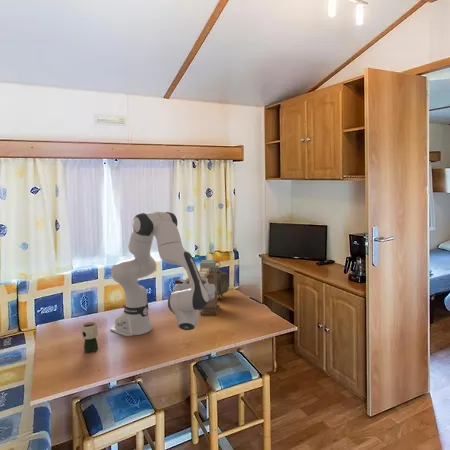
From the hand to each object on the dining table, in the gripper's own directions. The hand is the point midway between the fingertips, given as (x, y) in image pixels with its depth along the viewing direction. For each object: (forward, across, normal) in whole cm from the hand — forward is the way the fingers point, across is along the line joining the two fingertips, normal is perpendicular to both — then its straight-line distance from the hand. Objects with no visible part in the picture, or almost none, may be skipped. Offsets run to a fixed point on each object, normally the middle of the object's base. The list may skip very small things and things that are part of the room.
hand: (197, 279), depth 189 cm
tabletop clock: (+34, -1, +53) cm, 63 cm away
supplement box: (+24, +20, +47) cm, 56 cm away
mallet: (+17, 0, +13) cm, 21 cm away
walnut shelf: (+13, 0, +41) cm, 43 cm away
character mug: (-33, +49, +15) cm, 60 cm away
